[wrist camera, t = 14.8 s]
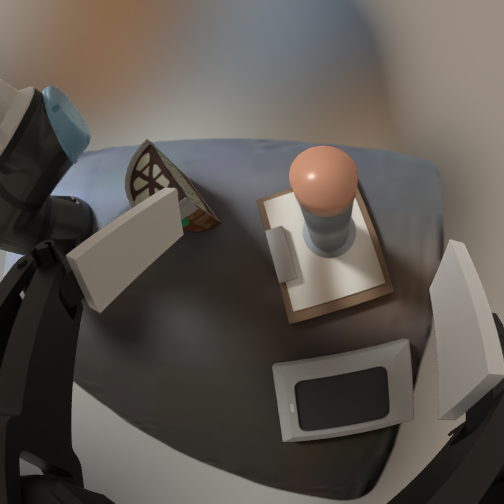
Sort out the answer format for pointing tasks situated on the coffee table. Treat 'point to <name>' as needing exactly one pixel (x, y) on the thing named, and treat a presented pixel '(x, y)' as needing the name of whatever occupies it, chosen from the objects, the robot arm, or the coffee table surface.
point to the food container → (166, 176)
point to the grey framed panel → (345, 392)
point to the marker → (325, 194)
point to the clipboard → (322, 260)
